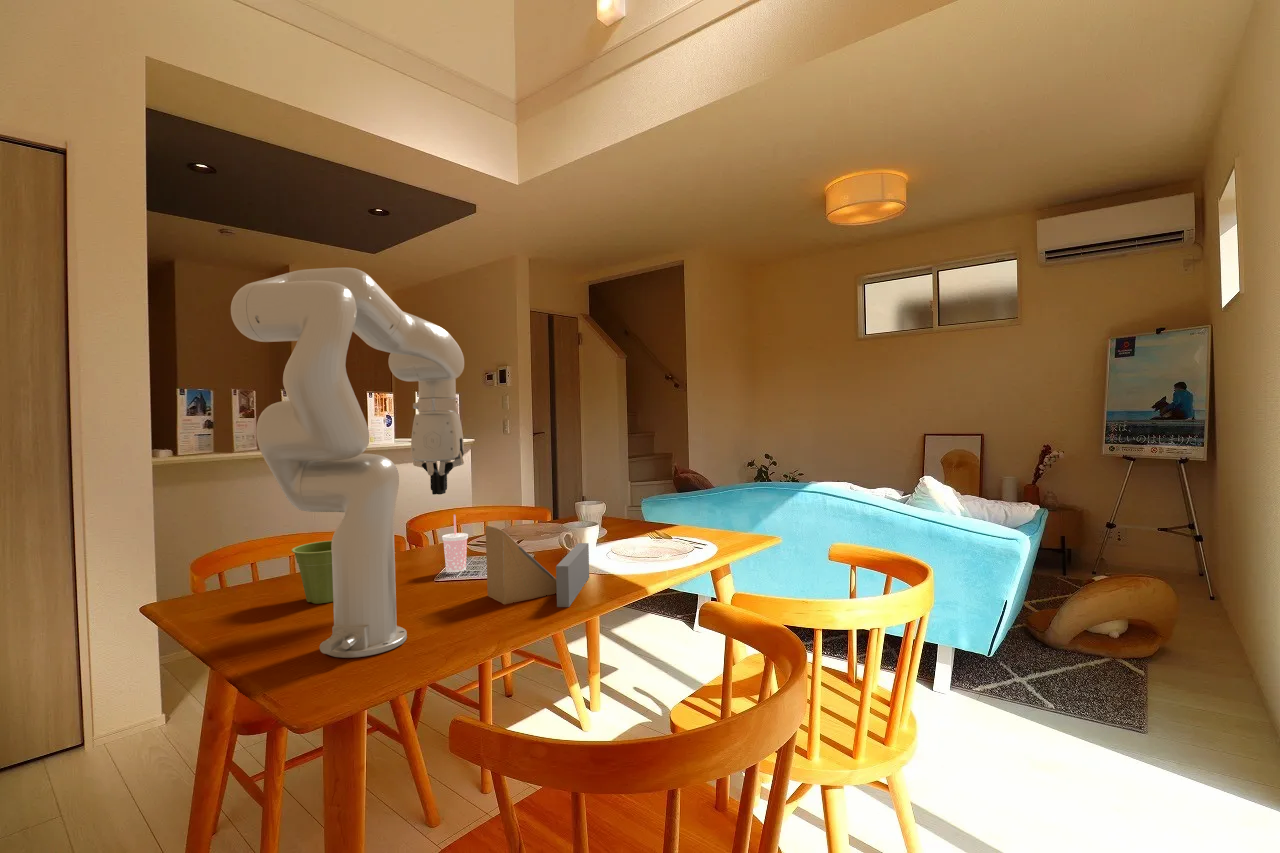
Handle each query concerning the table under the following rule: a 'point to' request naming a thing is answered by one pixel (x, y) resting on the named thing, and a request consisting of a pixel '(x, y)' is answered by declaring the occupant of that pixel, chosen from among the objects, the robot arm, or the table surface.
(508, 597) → the beige triangular wedge
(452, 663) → the table surface
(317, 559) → the plant pot
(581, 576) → the board
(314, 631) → the table surface
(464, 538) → the beverage cup
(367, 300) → the robot arm
